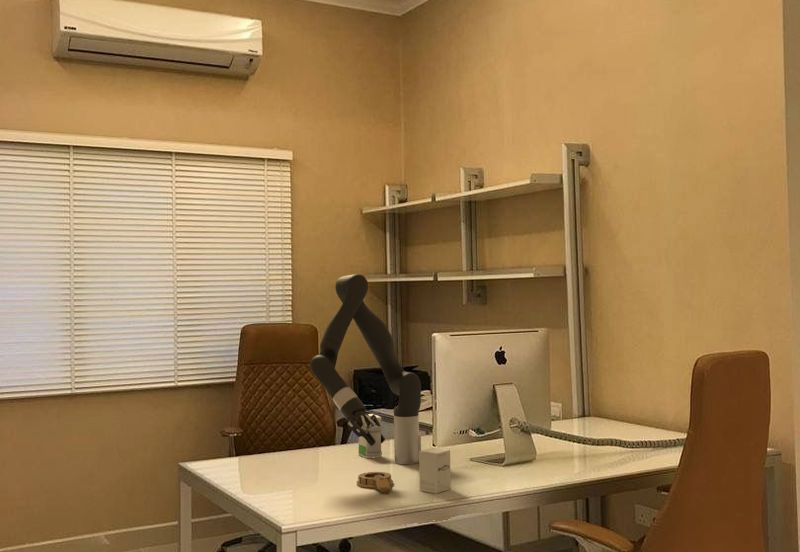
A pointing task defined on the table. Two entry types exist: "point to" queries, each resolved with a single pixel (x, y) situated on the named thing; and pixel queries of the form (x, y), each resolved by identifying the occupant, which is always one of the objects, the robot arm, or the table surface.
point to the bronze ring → (376, 481)
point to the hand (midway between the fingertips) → (378, 442)
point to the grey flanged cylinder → (376, 434)
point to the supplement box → (434, 470)
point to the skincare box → (363, 441)
